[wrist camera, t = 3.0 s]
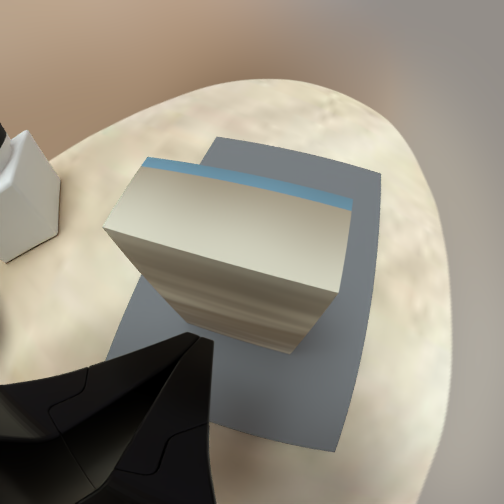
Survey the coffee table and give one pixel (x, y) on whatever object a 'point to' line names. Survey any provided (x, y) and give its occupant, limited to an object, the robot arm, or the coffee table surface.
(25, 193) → the medicine bottle
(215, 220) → the wooden block
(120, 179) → the coffee table surface
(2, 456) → the robot arm
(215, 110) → the coffee table surface
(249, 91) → the coffee table surface
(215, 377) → the mat
